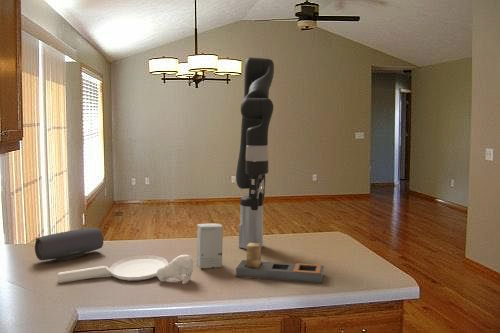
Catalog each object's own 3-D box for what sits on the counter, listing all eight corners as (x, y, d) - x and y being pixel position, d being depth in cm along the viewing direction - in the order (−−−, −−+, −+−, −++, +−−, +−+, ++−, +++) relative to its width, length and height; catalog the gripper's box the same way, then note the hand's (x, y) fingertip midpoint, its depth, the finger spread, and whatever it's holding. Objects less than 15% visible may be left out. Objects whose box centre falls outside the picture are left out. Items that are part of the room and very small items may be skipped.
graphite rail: (236, 276, 155) (236, 267, 155) (242, 268, 164) (242, 259, 164) (321, 283, 149) (321, 273, 149) (323, 274, 158) (323, 264, 158)
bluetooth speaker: (93, 249, 188) (92, 224, 187) (104, 253, 182) (103, 228, 181) (34, 260, 172) (33, 234, 171) (44, 266, 166) (43, 238, 165)
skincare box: (199, 269, 163) (199, 227, 162) (196, 264, 169) (196, 223, 167) (223, 267, 166) (223, 225, 164) (219, 262, 171) (219, 222, 170)
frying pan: (58, 298, 142) (57, 284, 141) (59, 275, 159) (58, 262, 158) (174, 279, 154) (173, 266, 153) (163, 259, 171) (162, 247, 170)
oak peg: (246, 275, 157) (246, 245, 156) (249, 271, 161) (249, 242, 160) (258, 276, 156) (258, 246, 155) (260, 272, 160) (260, 243, 159)
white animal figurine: (191, 257, 147) (153, 261, 147) (194, 283, 148) (156, 287, 148) (193, 251, 153) (156, 255, 153) (195, 277, 154) (159, 280, 154)
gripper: (250, 157, 163) (250, 203, 164) (241, 160, 149) (241, 211, 150) (271, 157, 161) (271, 204, 163) (264, 161, 147) (264, 212, 149)
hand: (256, 207), depth 157 cm, fingers open, 8 cm apart
